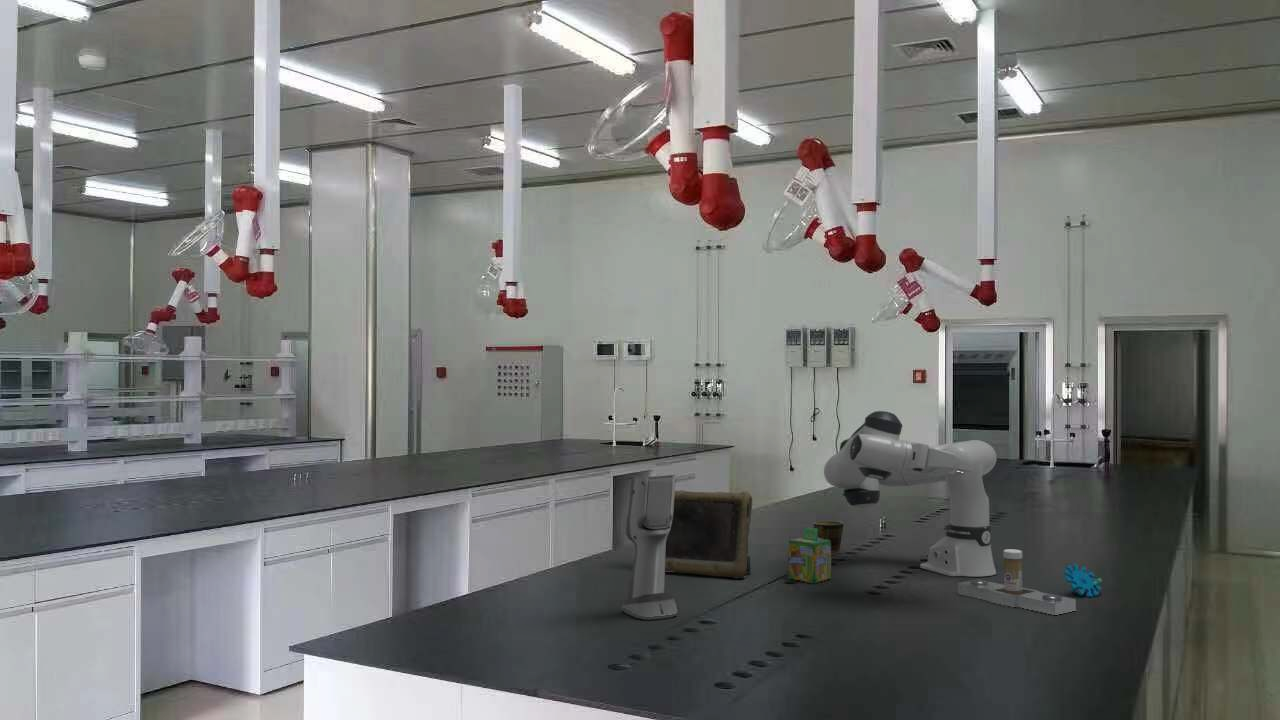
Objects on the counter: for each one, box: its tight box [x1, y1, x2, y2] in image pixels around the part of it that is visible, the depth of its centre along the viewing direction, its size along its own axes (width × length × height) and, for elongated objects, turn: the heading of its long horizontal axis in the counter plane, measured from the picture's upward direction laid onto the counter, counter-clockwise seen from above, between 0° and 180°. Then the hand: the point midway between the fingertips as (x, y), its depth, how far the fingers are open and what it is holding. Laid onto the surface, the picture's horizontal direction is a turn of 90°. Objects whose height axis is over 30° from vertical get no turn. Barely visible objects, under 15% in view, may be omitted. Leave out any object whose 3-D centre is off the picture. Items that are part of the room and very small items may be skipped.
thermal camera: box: [621, 474, 678, 617], centre depth 245 cm, size 12×13×35 cm
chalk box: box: [788, 527, 832, 584], centre depth 283 cm, size 9×9×15 cm
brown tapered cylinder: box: [812, 519, 844, 554], centre depth 325 cm, size 13×10×10 cm
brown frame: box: [665, 489, 753, 579], centre depth 295 cm, size 33×14×25 cm, turn 69°
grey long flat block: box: [957, 579, 1077, 616], centre depth 251 cm, size 29×10×4 cm, turn 32°
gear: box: [1063, 563, 1103, 598], centre depth 260 cm, size 11×6×10 cm
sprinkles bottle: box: [1002, 548, 1023, 595], centre depth 251 cm, size 5×5×13 cm
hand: (967, 470), depth 255 cm, fingers open, 8 cm apart
